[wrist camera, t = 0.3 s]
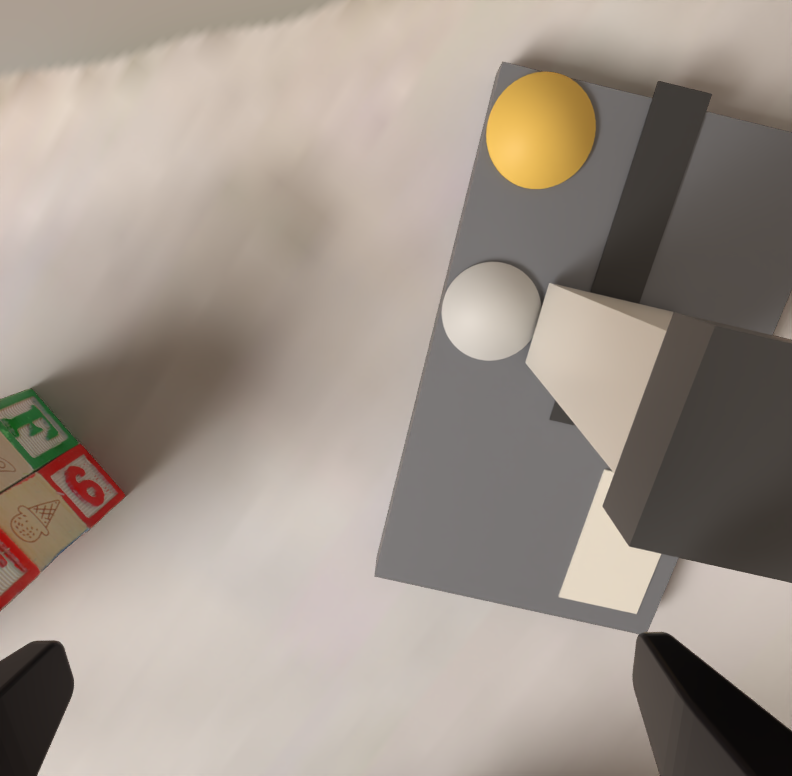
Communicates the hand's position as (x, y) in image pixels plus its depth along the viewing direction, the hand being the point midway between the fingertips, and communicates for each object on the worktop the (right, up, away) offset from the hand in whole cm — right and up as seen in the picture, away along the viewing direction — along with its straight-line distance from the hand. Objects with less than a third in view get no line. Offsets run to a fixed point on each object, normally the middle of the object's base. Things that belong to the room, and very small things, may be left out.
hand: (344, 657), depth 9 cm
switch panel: (+8, +5, +14) cm, 17 cm away
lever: (+8, +6, +12) cm, 16 cm away
